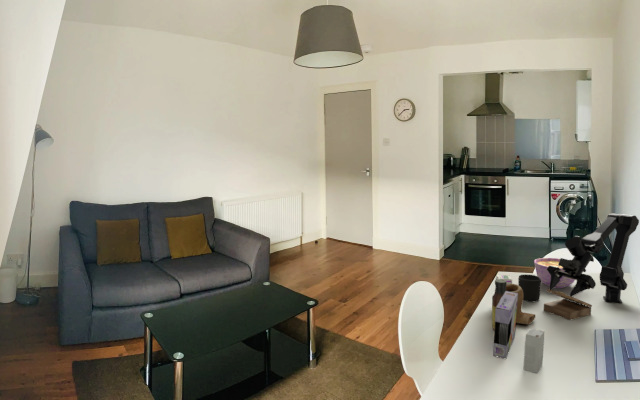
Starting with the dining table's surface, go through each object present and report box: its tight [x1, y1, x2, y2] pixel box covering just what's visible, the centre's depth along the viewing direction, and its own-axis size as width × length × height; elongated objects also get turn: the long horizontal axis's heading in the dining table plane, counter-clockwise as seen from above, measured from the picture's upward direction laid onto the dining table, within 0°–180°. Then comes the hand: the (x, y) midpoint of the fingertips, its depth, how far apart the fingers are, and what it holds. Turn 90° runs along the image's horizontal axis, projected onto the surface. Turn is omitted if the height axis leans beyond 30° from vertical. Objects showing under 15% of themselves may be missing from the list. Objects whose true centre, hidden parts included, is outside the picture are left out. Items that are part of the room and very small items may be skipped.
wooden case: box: [543, 298, 592, 321], centre depth 187 cm, size 13×12×3 cm
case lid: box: [546, 288, 593, 308], centre depth 187 cm, size 13×12×2 cm
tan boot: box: [506, 283, 536, 325], centre depth 178 cm, size 15×12×15 cm
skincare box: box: [523, 328, 545, 374], centre depth 141 cm, size 6×4×12 cm
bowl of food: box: [533, 257, 575, 289], centre depth 221 cm, size 20×20×12 cm
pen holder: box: [517, 274, 542, 303], centre depth 204 cm, size 9×9×10 cm
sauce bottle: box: [491, 279, 507, 332], centre depth 169 cm, size 6×6×20 cm
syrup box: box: [495, 274, 513, 284], centre depth 191 cm, size 6×6×14 cm
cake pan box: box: [492, 291, 518, 359], centre depth 155 cm, size 19×5×18 cm, turn 148°
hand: (560, 292), depth 184 cm, fingers open, 9 cm apart
